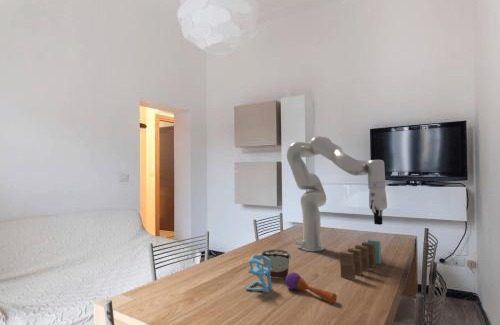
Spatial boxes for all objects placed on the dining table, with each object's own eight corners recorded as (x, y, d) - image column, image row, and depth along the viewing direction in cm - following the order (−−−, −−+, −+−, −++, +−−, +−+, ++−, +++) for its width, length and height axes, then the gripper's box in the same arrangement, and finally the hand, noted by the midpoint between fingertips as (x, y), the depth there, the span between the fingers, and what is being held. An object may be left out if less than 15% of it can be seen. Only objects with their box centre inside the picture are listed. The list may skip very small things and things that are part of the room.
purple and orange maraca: (327, 294, 93) (281, 274, 108) (329, 311, 94) (282, 289, 109) (338, 286, 97) (291, 267, 112) (339, 302, 98) (293, 282, 113)
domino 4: (373, 267, 129) (372, 244, 129) (362, 265, 132) (361, 242, 133) (375, 266, 130) (374, 243, 130) (364, 264, 134) (363, 242, 134)
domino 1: (352, 279, 115) (351, 254, 115) (340, 276, 119) (339, 251, 119) (355, 278, 116) (354, 253, 117) (343, 275, 120) (342, 250, 120)
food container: (294, 274, 123) (293, 250, 123) (291, 279, 117) (290, 254, 118) (265, 271, 127) (265, 248, 128) (261, 276, 121) (261, 252, 122)
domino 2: (360, 275, 120) (359, 250, 120) (348, 272, 123) (347, 248, 123) (362, 274, 121) (361, 249, 121) (350, 271, 125) (350, 247, 125)
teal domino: (379, 264, 133) (378, 241, 133) (368, 261, 137) (367, 240, 137) (381, 263, 135) (380, 241, 135) (370, 260, 138) (369, 239, 138)
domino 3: (367, 271, 124) (366, 247, 124) (355, 268, 128) (355, 245, 128) (369, 270, 125) (368, 246, 126) (357, 267, 129) (357, 244, 129)
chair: (265, 295, 103) (264, 260, 103) (245, 290, 107) (245, 257, 108) (275, 287, 110) (274, 255, 110) (256, 283, 114) (255, 252, 114)
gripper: (378, 186, 132) (380, 227, 132) (390, 184, 143) (392, 222, 142) (362, 186, 138) (363, 225, 137) (375, 184, 148) (377, 221, 147)
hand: (378, 224), depth 140 cm, fingers closed
